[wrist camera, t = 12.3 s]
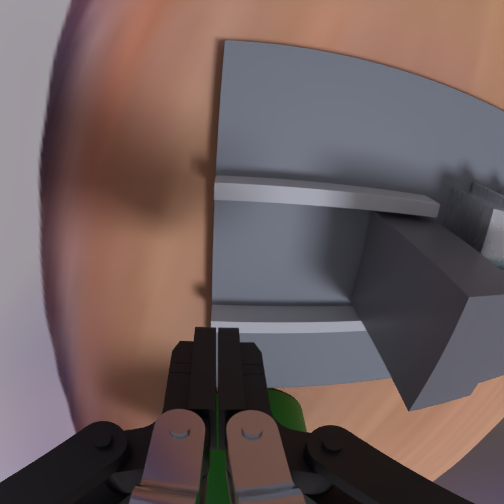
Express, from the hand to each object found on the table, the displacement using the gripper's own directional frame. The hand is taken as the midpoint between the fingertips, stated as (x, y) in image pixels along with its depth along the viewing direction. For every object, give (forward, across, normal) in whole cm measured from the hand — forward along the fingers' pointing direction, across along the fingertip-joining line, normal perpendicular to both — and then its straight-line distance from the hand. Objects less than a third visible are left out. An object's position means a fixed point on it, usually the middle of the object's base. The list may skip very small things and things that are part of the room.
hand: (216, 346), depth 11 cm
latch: (+7, -13, 0) cm, 15 cm away
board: (+8, -15, 0) cm, 17 cm away
